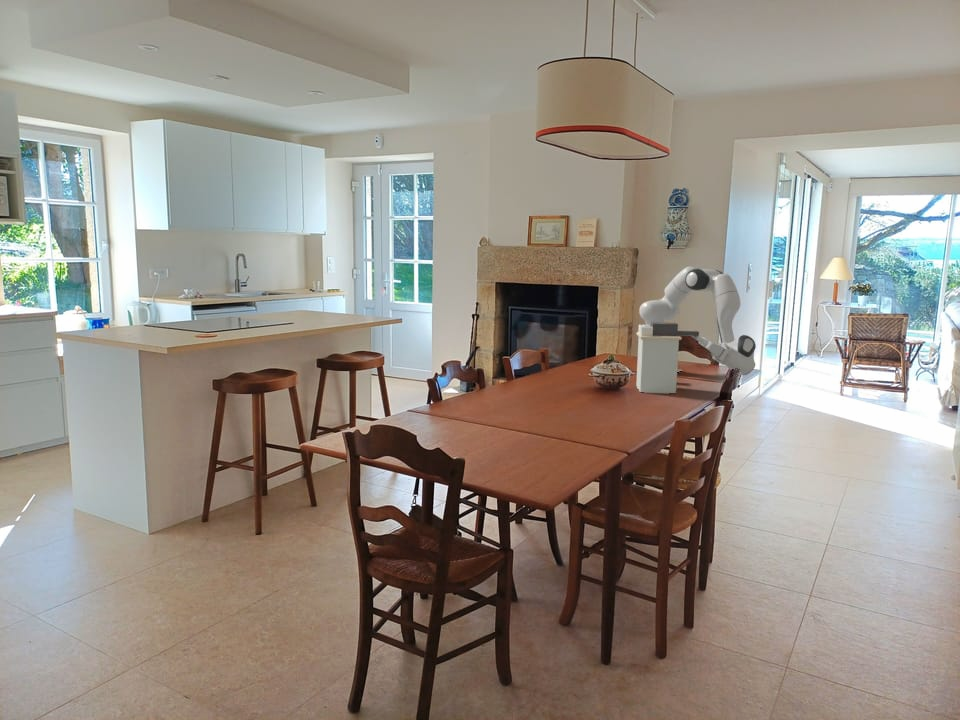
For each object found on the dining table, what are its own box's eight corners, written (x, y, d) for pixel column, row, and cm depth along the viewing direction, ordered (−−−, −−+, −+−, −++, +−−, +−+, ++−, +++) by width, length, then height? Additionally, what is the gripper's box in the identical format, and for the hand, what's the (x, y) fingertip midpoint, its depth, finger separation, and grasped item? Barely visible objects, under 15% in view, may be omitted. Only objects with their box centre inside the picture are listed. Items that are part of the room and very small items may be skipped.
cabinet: (671, 386, 328) (674, 333, 324) (678, 394, 311) (681, 337, 306) (633, 385, 330) (636, 332, 326) (638, 392, 312) (641, 336, 308)
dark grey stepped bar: (696, 334, 318) (697, 323, 317) (699, 336, 311) (700, 324, 310) (644, 333, 320) (645, 322, 319) (646, 335, 313) (647, 323, 313)
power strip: (649, 333, 322) (649, 324, 322) (652, 336, 311) (652, 327, 310) (638, 332, 323) (638, 324, 322) (641, 335, 311) (641, 326, 311)
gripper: (719, 343, 324) (694, 328, 324) (730, 350, 304) (704, 333, 304) (712, 354, 325) (687, 339, 325) (722, 361, 305) (696, 345, 305)
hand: (695, 337), depth 315 cm, fingers open, 8 cm apart
